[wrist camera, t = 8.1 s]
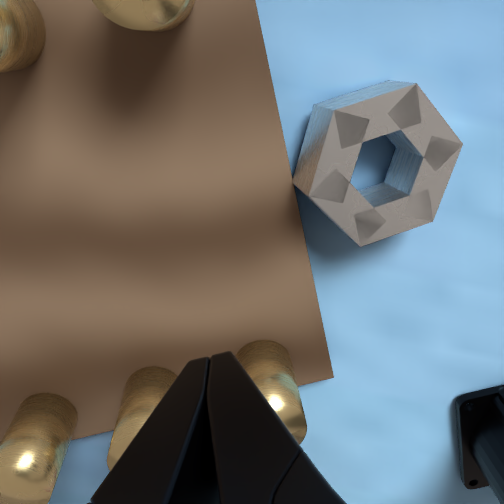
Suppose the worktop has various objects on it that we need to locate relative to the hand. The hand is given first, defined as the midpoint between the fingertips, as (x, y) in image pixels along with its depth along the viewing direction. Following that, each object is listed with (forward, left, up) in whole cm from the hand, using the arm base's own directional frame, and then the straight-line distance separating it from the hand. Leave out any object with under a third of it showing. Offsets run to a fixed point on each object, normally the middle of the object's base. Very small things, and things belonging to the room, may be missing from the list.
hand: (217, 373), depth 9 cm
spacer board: (0, +7, -11) cm, 13 cm away
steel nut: (0, -6, -10) cm, 12 cm away
